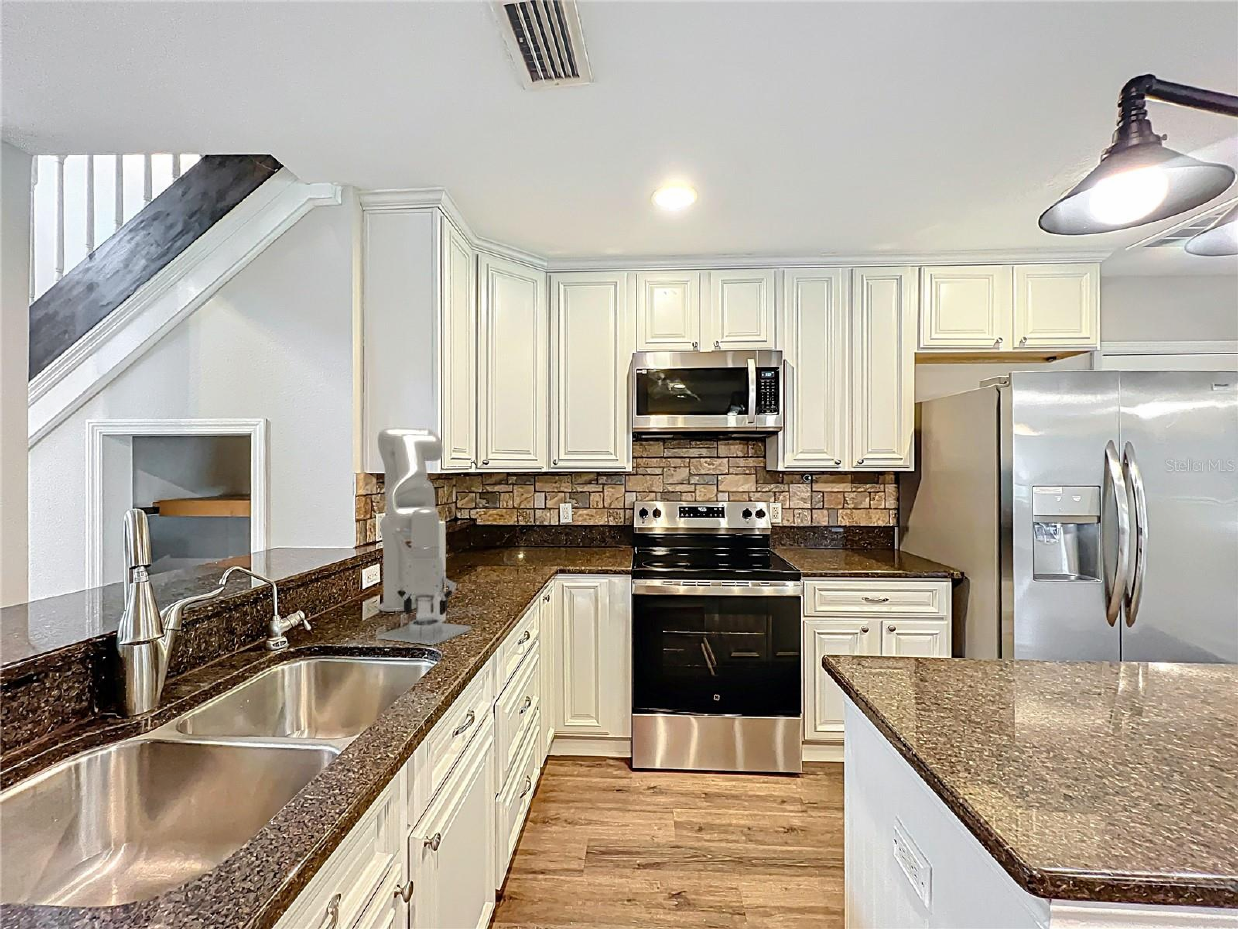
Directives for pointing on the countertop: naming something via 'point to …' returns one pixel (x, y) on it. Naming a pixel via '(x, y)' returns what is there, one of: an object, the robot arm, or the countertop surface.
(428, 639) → the flange
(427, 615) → the grey cylinder
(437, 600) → the container
